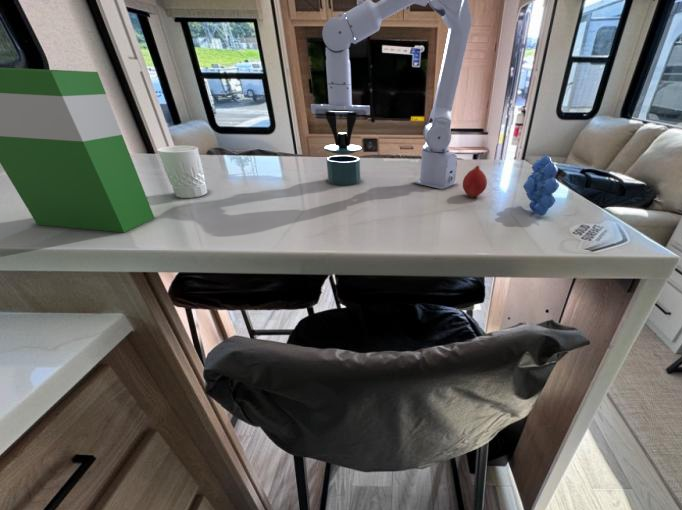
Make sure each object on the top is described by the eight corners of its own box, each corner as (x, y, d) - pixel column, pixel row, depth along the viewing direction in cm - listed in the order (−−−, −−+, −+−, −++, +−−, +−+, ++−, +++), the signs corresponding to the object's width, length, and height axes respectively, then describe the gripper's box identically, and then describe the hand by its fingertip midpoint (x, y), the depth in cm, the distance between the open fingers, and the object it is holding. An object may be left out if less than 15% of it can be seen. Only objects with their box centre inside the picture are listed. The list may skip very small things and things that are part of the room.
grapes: (508, 203, 82) (519, 151, 75) (534, 204, 82) (548, 151, 76) (526, 221, 72) (541, 162, 65) (556, 221, 73) (574, 163, 66)
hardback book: (37, 224, 62) (-58, 66, 48) (74, 211, 68) (-1, 67, 54) (124, 232, 60) (51, 71, 47) (154, 218, 66) (97, 71, 53)
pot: (362, 177, 98) (361, 156, 94) (357, 186, 90) (357, 162, 87) (331, 176, 98) (330, 154, 94) (325, 184, 90) (323, 161, 87)
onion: (456, 196, 86) (460, 163, 81) (474, 194, 88) (479, 161, 83) (469, 203, 81) (474, 168, 77) (488, 200, 83) (494, 167, 79)
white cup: (164, 196, 78) (148, 149, 72) (193, 187, 84) (180, 144, 78) (189, 201, 75) (174, 153, 70) (217, 192, 82) (205, 147, 76)
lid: (363, 149, 93) (363, 131, 91) (359, 156, 85) (358, 136, 83) (328, 147, 93) (327, 129, 91) (320, 154, 85) (319, 135, 83)
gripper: (307, 83, 77) (313, 147, 84) (370, 85, 79) (371, 148, 86) (309, 82, 82) (315, 142, 90) (368, 85, 85) (369, 143, 92)
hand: (342, 145), depth 89 cm, fingers closed on lid, 2 cm apart
